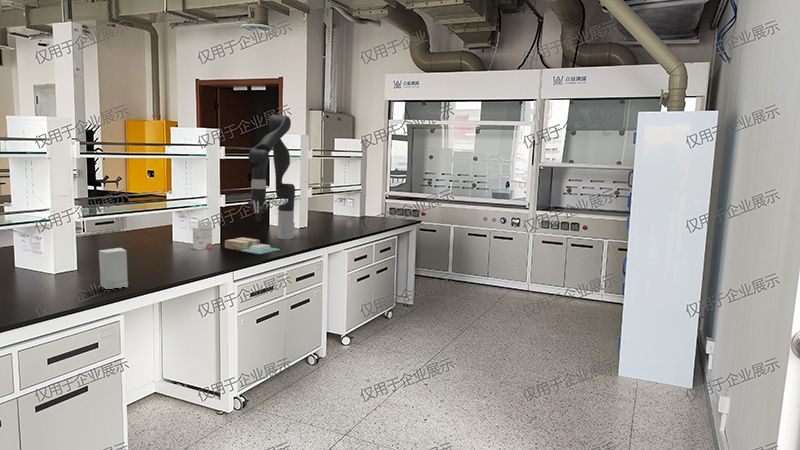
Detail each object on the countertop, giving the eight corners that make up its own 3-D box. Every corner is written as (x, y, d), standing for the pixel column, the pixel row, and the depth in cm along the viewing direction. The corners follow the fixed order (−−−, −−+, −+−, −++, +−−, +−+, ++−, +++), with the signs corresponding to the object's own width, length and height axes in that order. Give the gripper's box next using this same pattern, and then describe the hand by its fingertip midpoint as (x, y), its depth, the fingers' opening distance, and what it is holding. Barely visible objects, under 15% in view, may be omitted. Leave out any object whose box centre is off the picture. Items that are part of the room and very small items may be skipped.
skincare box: (122, 284, 217) (121, 247, 215) (128, 287, 213) (127, 249, 211) (99, 287, 211) (98, 249, 209) (105, 291, 207) (104, 252, 205)
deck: (243, 244, 312) (243, 237, 311) (259, 247, 306) (259, 239, 306) (224, 247, 299) (224, 240, 299) (241, 250, 294) (241, 243, 293)
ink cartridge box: (206, 246, 299) (206, 219, 297) (212, 248, 296) (212, 221, 294) (192, 248, 293) (192, 221, 291) (197, 250, 290) (197, 222, 288)
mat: (261, 246, 307) (261, 245, 307) (280, 249, 301) (280, 248, 301) (241, 251, 293) (241, 250, 293) (260, 254, 287) (260, 253, 287)
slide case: (270, 245, 300) (270, 248, 300) (261, 243, 302) (261, 247, 303) (258, 247, 292) (258, 251, 292) (250, 246, 294) (250, 249, 295)
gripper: (273, 188, 293) (272, 220, 296) (253, 186, 299) (253, 218, 302) (263, 189, 287) (263, 222, 290) (244, 187, 293) (243, 219, 295)
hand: (258, 220), depth 296 cm, fingers closed
